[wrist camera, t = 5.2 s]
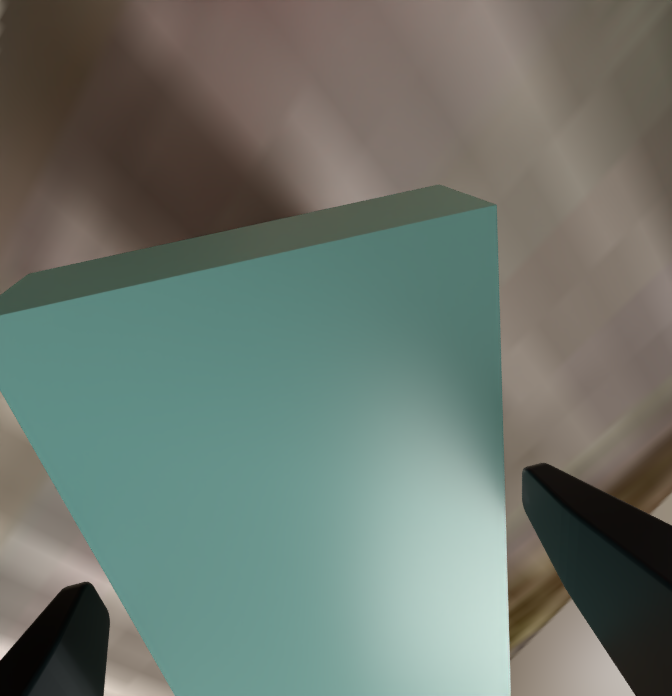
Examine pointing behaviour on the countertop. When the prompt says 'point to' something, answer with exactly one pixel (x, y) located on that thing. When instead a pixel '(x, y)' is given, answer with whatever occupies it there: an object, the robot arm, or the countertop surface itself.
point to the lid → (286, 445)
